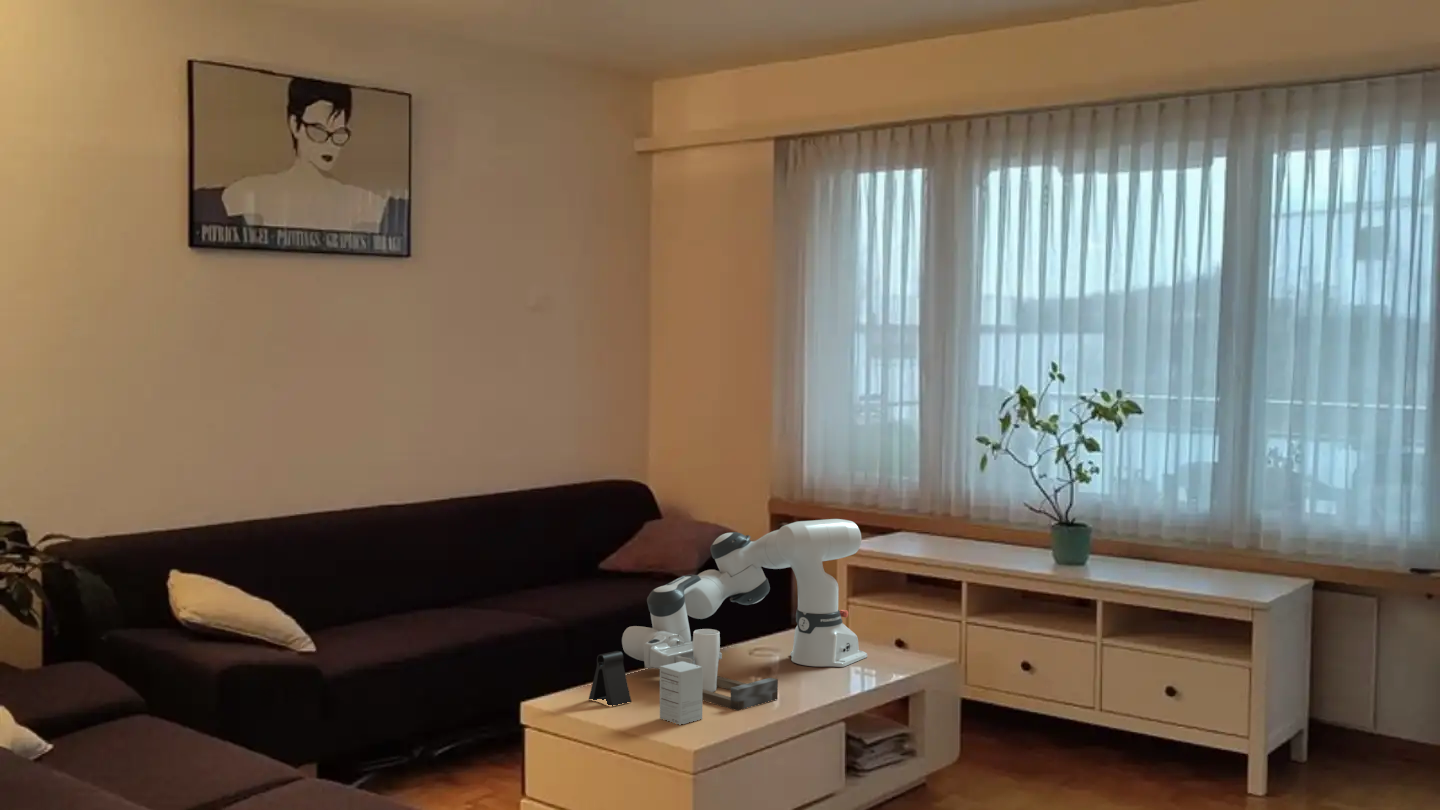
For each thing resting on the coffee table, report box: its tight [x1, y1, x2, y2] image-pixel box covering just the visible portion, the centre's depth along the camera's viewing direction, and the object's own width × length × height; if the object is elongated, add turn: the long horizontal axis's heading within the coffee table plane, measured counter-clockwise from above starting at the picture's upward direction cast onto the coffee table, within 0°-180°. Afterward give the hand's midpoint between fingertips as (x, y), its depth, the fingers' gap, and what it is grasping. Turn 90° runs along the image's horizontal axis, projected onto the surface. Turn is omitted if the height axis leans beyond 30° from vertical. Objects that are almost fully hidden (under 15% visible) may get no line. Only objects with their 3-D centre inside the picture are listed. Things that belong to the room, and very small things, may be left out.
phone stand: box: [588, 650, 632, 706], centre depth 330 cm, size 9×6×12 cm, turn 44°
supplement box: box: [659, 661, 703, 726], centre depth 316 cm, size 7×7×13 cm
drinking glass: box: [692, 628, 721, 693], centre depth 341 cm, size 7×7×15 cm
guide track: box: [702, 675, 779, 711], centre depth 336 cm, size 14×22×5 cm, turn 45°
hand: (706, 659), depth 341 cm, fingers open, 8 cm apart
